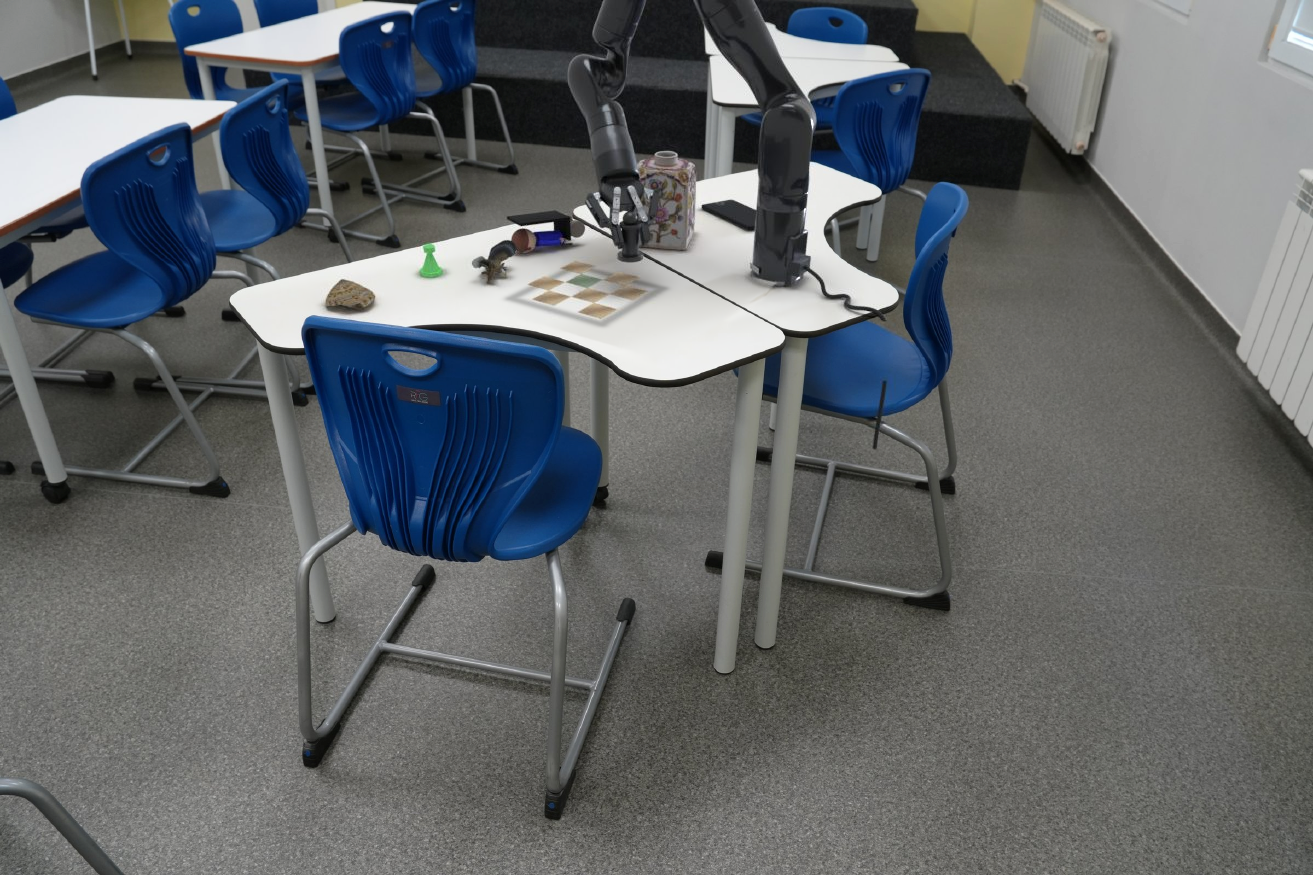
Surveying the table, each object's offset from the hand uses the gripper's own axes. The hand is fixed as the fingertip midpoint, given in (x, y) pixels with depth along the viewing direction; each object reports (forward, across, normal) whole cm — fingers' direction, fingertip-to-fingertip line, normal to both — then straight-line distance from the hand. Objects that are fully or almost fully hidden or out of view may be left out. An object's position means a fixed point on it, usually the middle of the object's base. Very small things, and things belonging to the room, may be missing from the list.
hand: (633, 245), depth 170 cm
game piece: (-9, -33, +24) cm, 42 cm away
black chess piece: (+1, 0, +4) cm, 4 cm away
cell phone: (-21, +37, +36) cm, 56 cm away
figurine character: (-15, -9, +30) cm, 35 cm away
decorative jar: (-14, +16, +29) cm, 36 cm away
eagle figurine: (-6, -22, +21) cm, 30 cm away
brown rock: (-1, -48, +16) cm, 51 cm away
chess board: (+3, -7, +12) cm, 14 cm away
